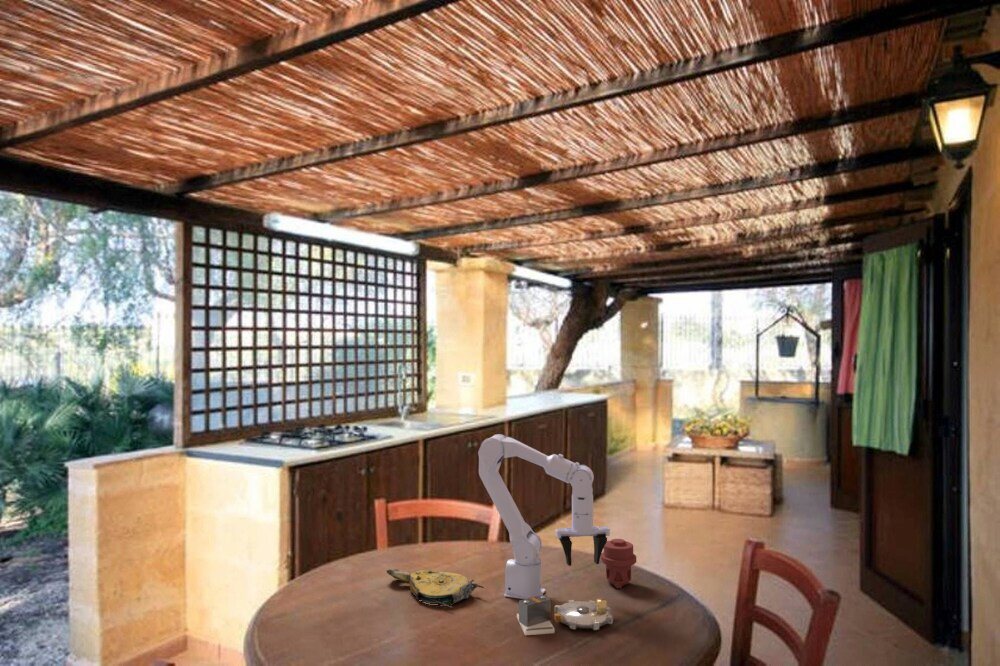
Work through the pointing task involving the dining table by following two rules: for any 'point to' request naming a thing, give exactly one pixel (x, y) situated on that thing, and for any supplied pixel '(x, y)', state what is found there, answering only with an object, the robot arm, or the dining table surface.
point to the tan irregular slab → (436, 585)
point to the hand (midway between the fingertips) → (582, 563)
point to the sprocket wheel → (584, 614)
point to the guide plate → (537, 628)
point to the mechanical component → (618, 561)
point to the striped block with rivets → (534, 610)
